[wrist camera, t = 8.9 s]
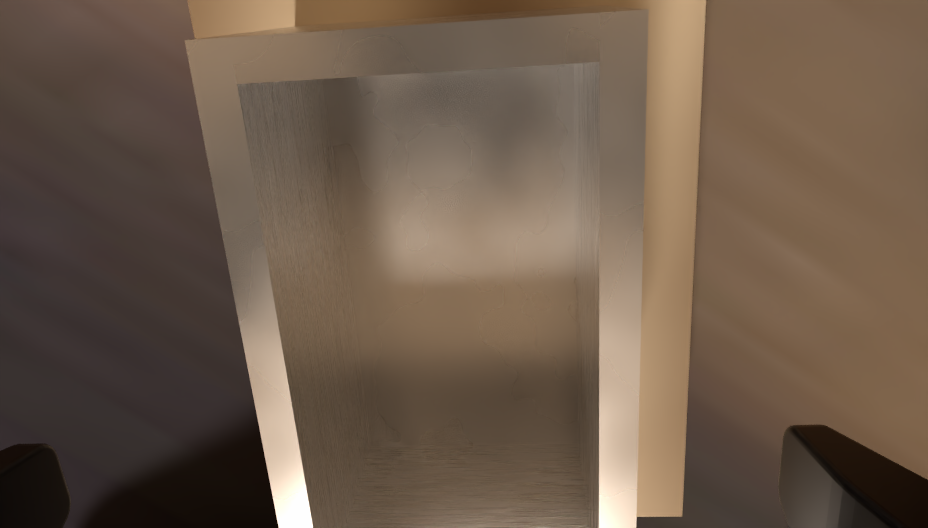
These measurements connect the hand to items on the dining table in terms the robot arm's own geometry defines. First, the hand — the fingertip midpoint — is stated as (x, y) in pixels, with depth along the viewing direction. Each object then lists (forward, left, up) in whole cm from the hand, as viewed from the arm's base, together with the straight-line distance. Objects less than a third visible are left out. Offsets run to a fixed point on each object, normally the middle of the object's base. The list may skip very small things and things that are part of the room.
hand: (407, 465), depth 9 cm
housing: (0, 0, -7) cm, 7 cm away
